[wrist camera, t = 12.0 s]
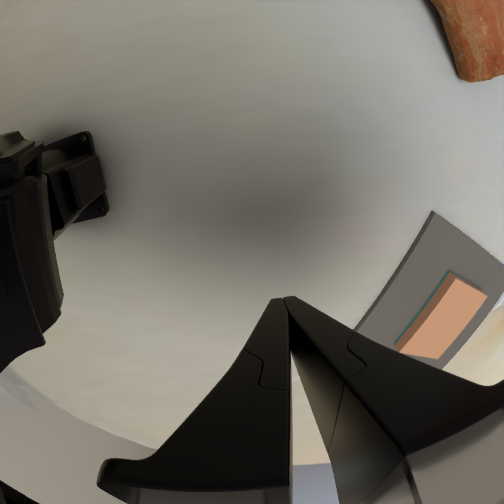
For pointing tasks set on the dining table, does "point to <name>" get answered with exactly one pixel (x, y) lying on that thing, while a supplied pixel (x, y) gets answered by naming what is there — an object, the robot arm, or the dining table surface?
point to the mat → (432, 285)
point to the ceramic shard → (474, 36)
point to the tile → (441, 318)
